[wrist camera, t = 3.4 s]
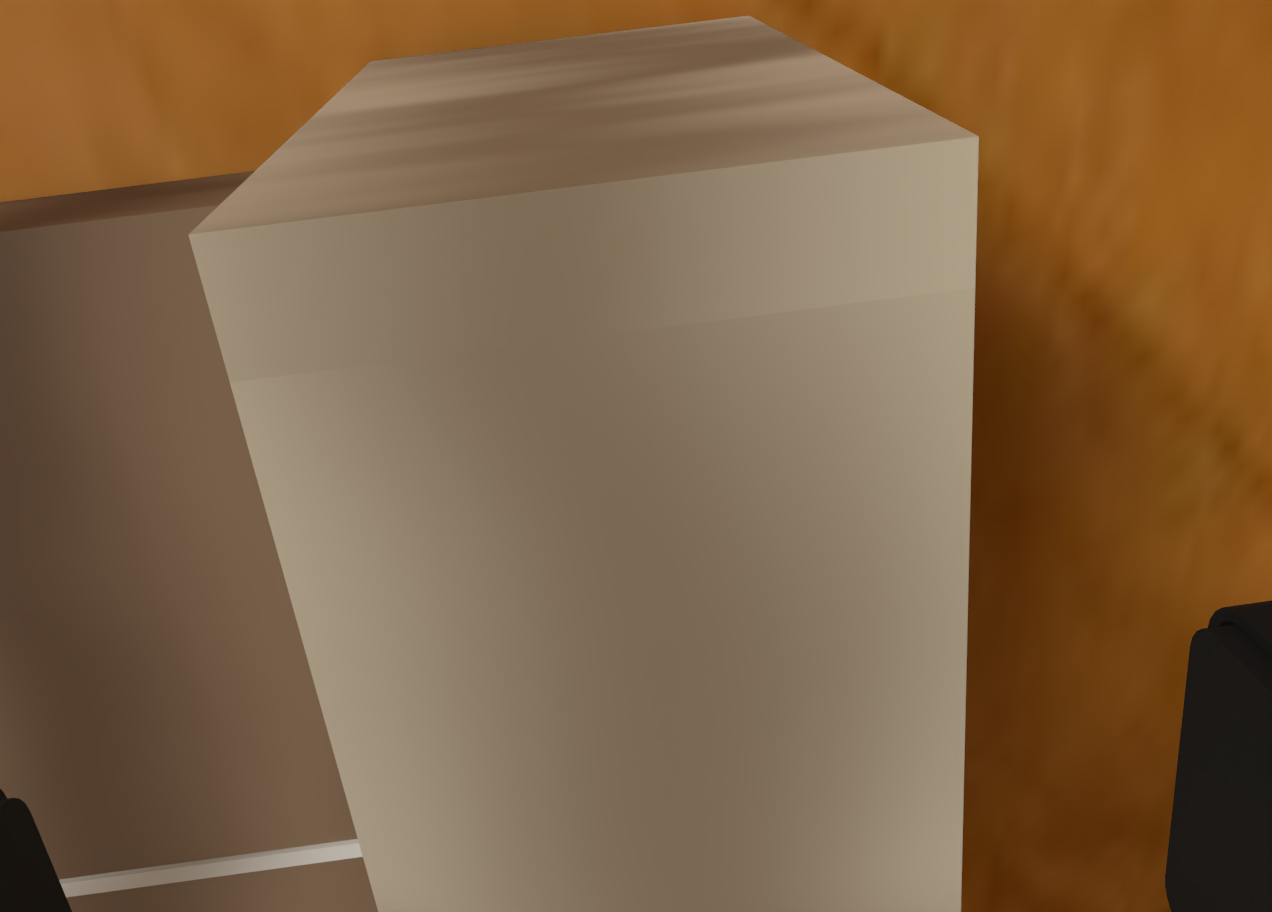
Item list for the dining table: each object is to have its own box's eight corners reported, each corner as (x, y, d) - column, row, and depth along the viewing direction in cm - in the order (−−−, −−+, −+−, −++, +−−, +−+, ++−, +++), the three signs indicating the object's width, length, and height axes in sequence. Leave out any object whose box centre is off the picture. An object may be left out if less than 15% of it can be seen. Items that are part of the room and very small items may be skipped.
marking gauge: (749, 15, 15) (978, 136, 7) (793, 770, 21) (951, 1301, 13) (371, 61, 15) (187, 234, 7) (517, 807, 21) (505, 1367, 13)
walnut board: (819, 102, 16) (856, 128, 14) (846, 845, 22) (874, 932, 20) (-853, 307, 16) (-1041, 362, 14) (-358, 1012, 22) (-443, 1117, 20)
